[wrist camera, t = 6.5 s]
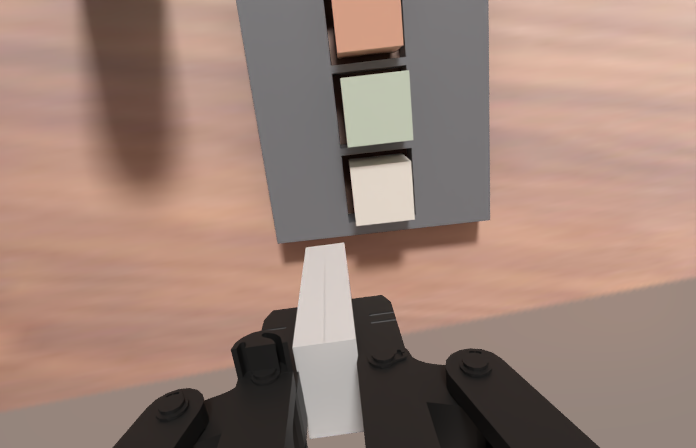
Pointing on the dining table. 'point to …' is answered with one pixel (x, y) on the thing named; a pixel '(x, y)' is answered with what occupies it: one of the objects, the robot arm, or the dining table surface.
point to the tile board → (423, 151)
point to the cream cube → (382, 189)
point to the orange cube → (367, 27)
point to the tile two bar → (377, 108)
